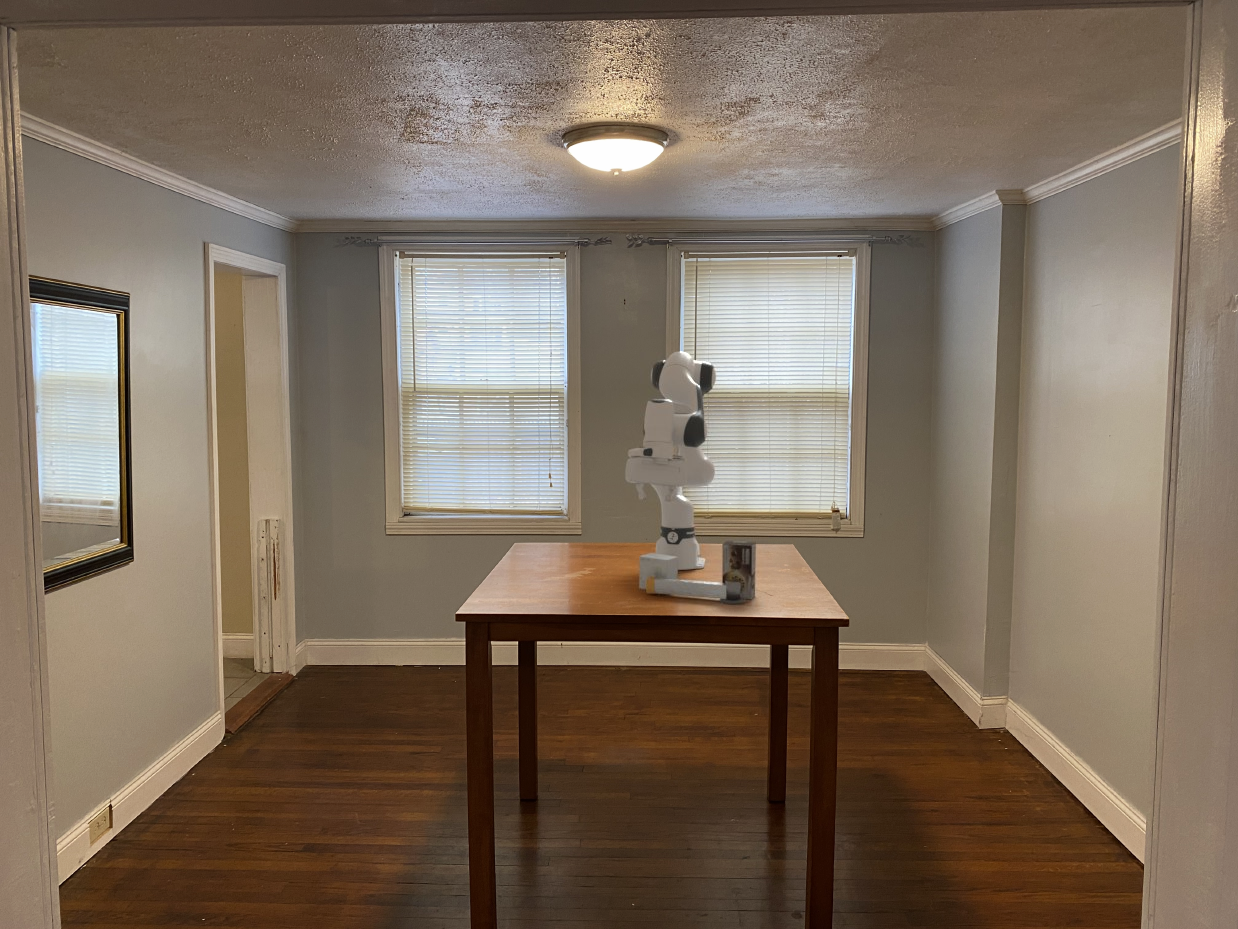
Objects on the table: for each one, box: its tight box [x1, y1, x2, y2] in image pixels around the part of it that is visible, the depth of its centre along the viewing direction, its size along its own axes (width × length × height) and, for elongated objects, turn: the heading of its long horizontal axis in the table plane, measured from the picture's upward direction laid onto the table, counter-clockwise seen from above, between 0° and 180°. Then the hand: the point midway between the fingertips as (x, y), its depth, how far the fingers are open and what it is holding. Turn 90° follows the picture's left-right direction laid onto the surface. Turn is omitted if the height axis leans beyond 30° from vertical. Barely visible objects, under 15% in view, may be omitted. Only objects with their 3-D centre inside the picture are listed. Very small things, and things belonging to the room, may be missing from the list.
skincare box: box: [638, 552, 679, 590], centre depth 272 cm, size 10×6×10 cm, turn 53°
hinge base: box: [720, 597, 746, 606], centre depth 257 cm, size 7×7×1 cm
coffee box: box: [721, 540, 757, 600], centre depth 264 cm, size 9×6×16 cm
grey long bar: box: [645, 576, 741, 600], centre depth 261 cm, size 28×4×5 cm, turn 70°
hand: (655, 500), depth 259 cm, fingers open, 8 cm apart
